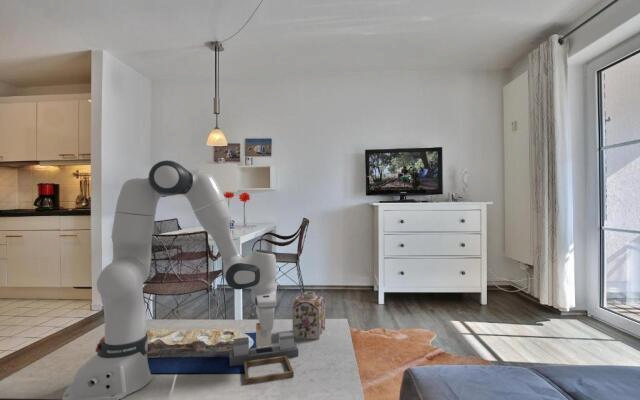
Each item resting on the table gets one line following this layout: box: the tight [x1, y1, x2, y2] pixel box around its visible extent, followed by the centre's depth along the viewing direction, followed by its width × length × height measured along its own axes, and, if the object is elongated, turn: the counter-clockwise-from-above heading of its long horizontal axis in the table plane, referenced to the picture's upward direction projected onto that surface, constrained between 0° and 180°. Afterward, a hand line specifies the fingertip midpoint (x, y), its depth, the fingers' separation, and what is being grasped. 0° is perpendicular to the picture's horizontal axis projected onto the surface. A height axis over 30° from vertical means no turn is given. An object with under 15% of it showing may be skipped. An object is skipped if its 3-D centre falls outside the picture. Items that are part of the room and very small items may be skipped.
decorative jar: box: [292, 291, 326, 340], centre depth 136 cm, size 12×12×18 cm
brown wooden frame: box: [243, 356, 295, 385], centre depth 105 cm, size 15×12×2 cm
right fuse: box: [278, 331, 295, 350], centre depth 116 cm, size 5×3×7 cm, turn 107°
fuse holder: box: [229, 342, 299, 367], centre depth 114 cm, size 24×6×4 cm, turn 107°
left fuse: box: [233, 337, 250, 357], centre depth 112 cm, size 5×3×7 cm, turn 107°
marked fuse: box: [255, 322, 272, 348], centre depth 114 cm, size 5×3×7 cm, turn 107°
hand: (263, 334), depth 114 cm, fingers closed on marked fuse, 3 cm apart
